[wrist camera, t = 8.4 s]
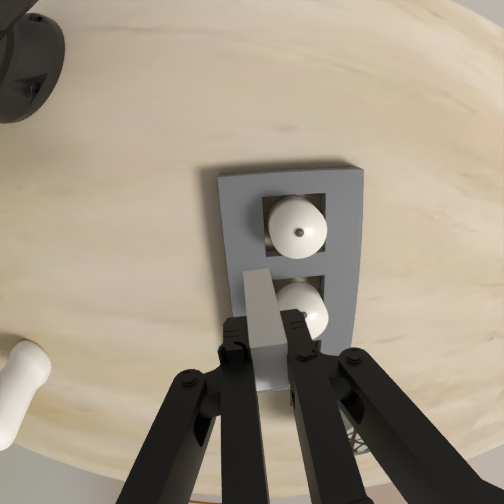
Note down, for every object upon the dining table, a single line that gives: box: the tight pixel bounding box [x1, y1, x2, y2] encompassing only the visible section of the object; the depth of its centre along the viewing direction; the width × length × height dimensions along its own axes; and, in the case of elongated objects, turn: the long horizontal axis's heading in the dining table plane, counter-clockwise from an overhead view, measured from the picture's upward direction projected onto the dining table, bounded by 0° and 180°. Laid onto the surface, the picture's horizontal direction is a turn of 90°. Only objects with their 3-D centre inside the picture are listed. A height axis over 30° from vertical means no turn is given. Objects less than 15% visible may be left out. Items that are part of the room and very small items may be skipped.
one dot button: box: [267, 196, 327, 259], centre depth 34 cm, size 6×6×4 cm
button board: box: [217, 167, 364, 393], centre depth 39 cm, size 32×16×2 cm, turn 4°
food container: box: [338, 406, 370, 456], centre depth 45 cm, size 12×6×10 cm, turn 33°
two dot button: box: [276, 282, 328, 339], centre depth 36 cm, size 6×6×4 cm
